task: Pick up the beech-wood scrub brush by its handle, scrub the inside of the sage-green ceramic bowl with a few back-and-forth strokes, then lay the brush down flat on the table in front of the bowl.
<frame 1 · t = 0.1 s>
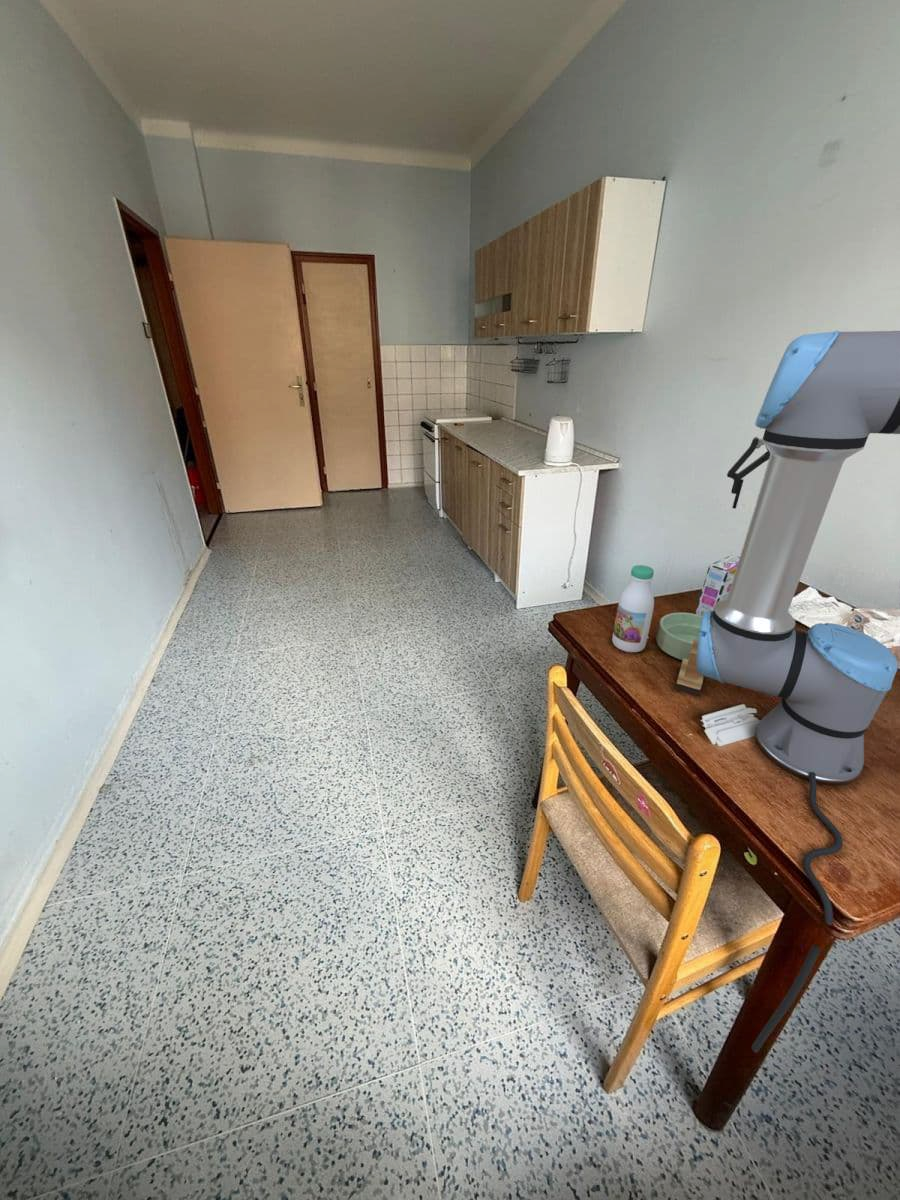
hand: (766, 511, 113), 28 cm above the table, tool pointing down, fingers open, 13 cm apart
brush: (689, 682, 100), on the table
candy bar box: (712, 620, 123), on the table
milk bottle: (628, 644, 114), on the table
bowl: (687, 647, 112), on the table
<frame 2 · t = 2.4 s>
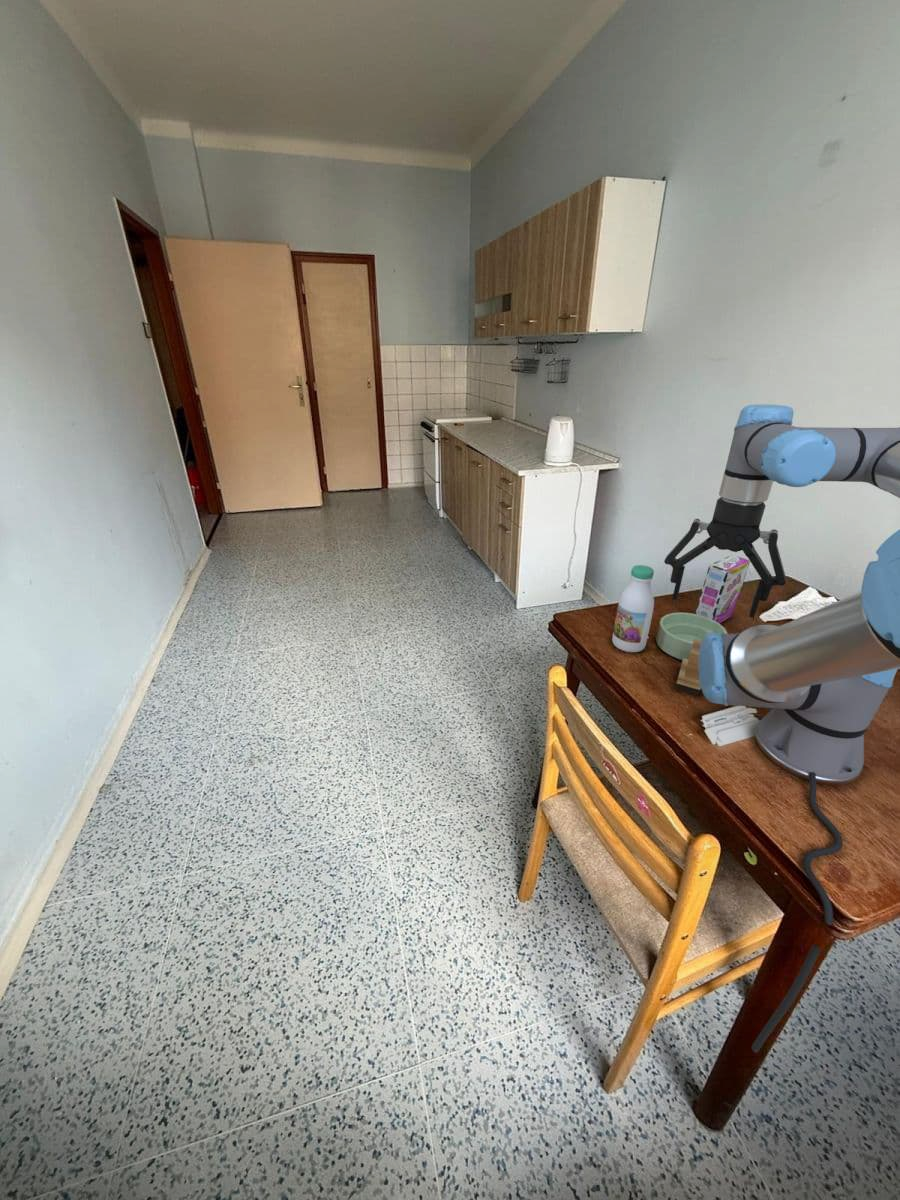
hand: (712, 605, 93), 18 cm above the table, tool pointing down, fingers open, 13 cm apart
nothing on the table moved.
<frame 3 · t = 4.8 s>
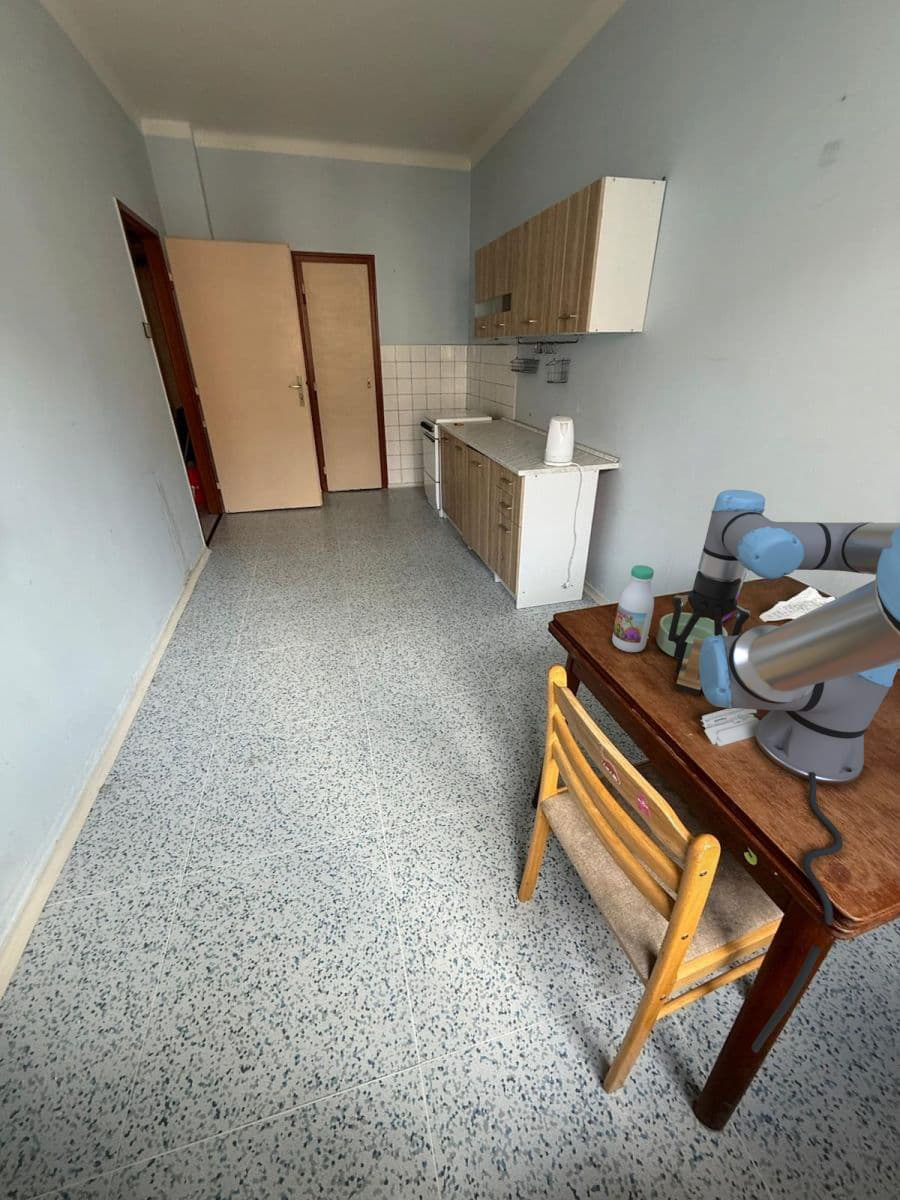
hand: (691, 673, 99), 2 cm above the table, tool pointing down, fingers closed on brush, 4 cm apart
brush: (689, 682, 100), on the table, touching gripper
everything else where it was.
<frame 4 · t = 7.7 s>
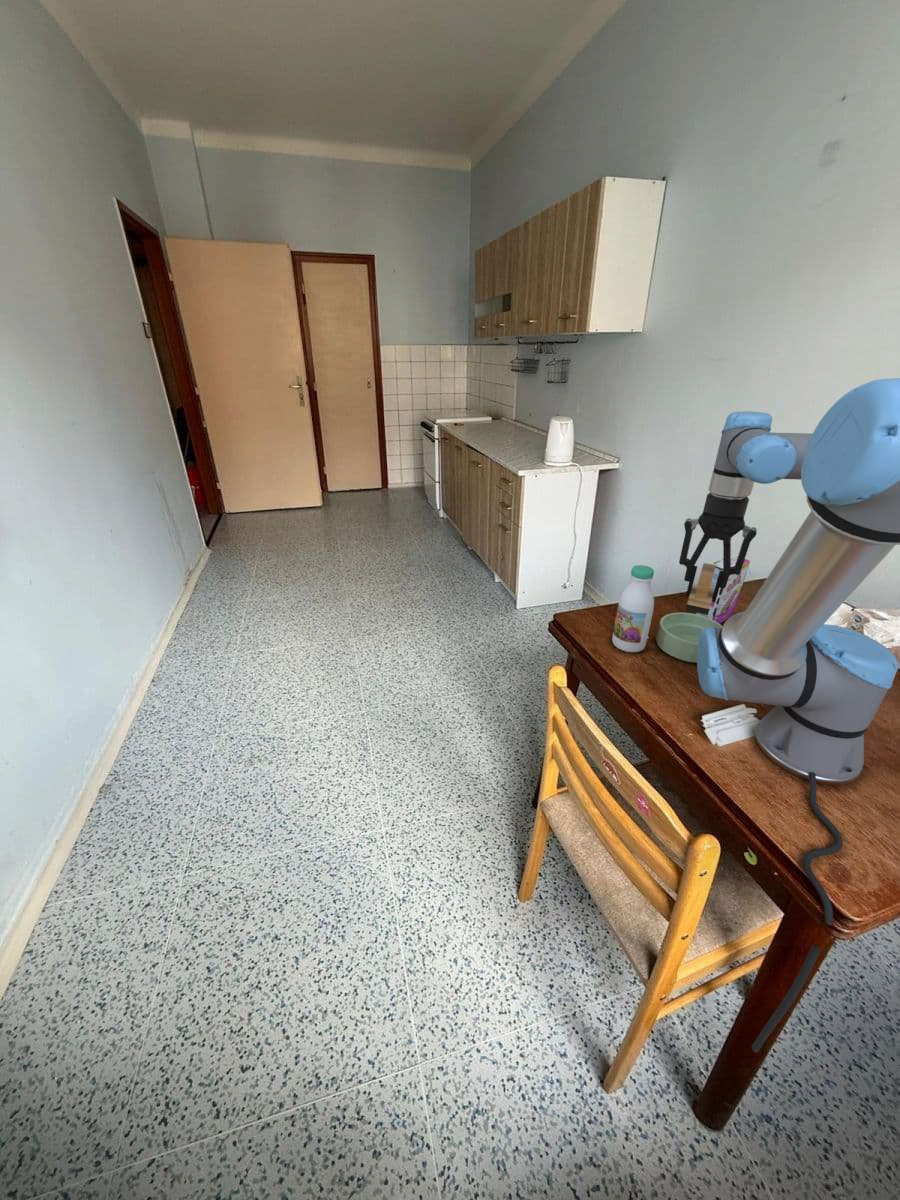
hand: (700, 596, 106), 14 cm above the table, tool pointing down, fingers closed on brush, 4 cm apart
brush: (698, 604, 107), point 11 cm above the table, touching gripper
everything else where it was.
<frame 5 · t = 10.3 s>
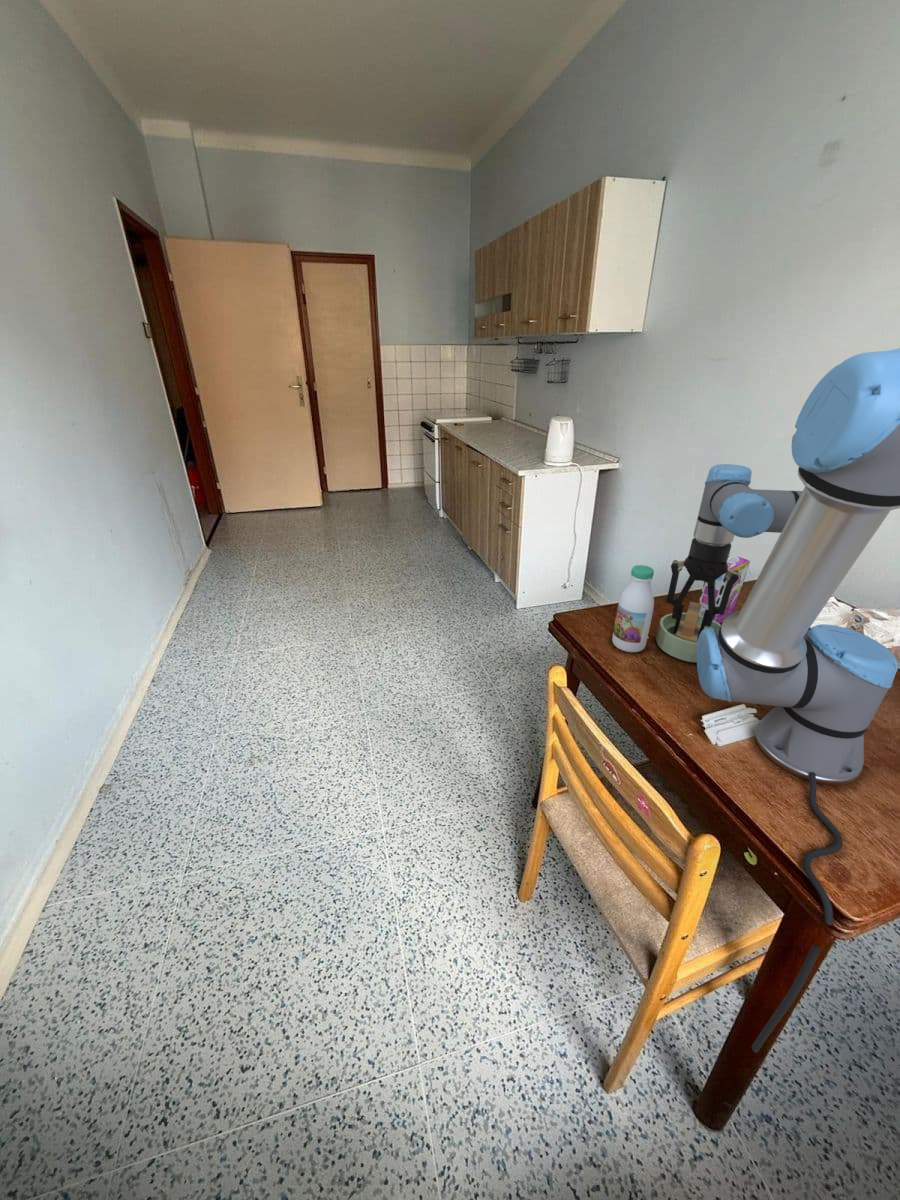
hand: (687, 633, 111), 4 cm above the table, tool pointing down, fingers closed on brush, 4 cm apart
brush: (685, 641, 112), point 1 cm above the table, touching gripper
everything else where it was.
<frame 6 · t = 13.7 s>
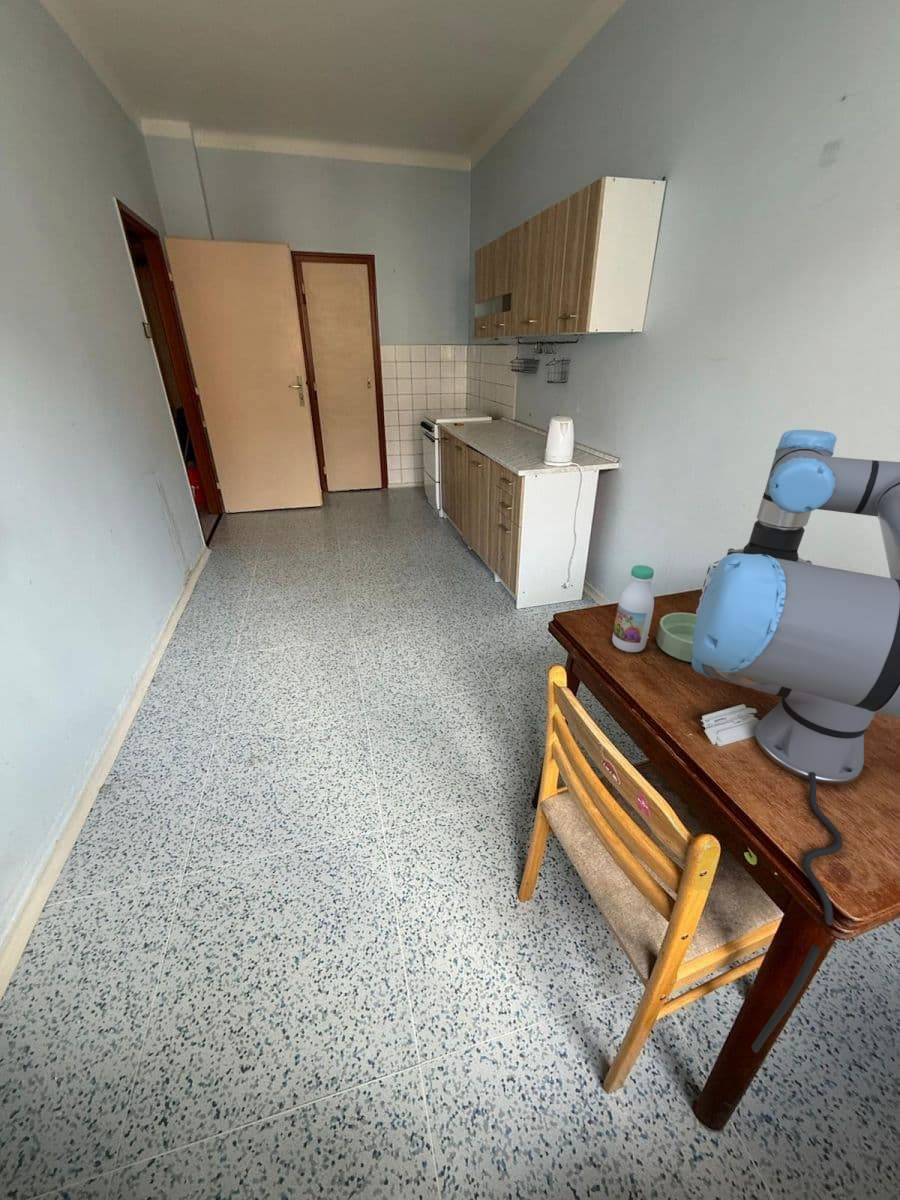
hand: (743, 635, 94), 12 cm above the table, tool pointing down, fingers closed on brush, 4 cm apart
brush: (740, 644, 95), point 10 cm above the table, touching gripper
everything else where it was.
when the fingers open (2 cm above the table, at t = 16.2 s): brush stays where it is, on the table.
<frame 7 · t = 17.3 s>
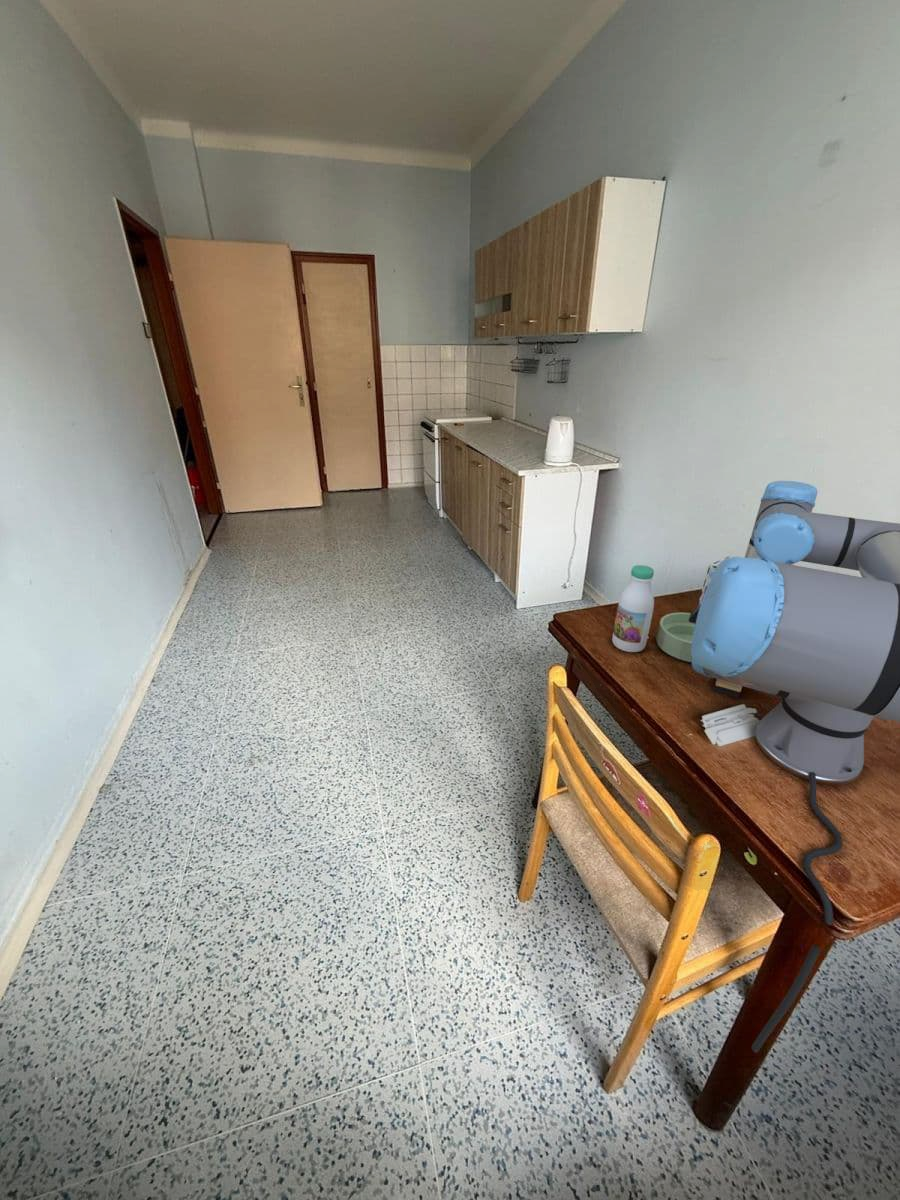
hand: (734, 662, 97), 6 cm above the table, tool pointing down, fingers open, 13 cm apart
brush: (727, 683, 100), on the table
everything else where it was.
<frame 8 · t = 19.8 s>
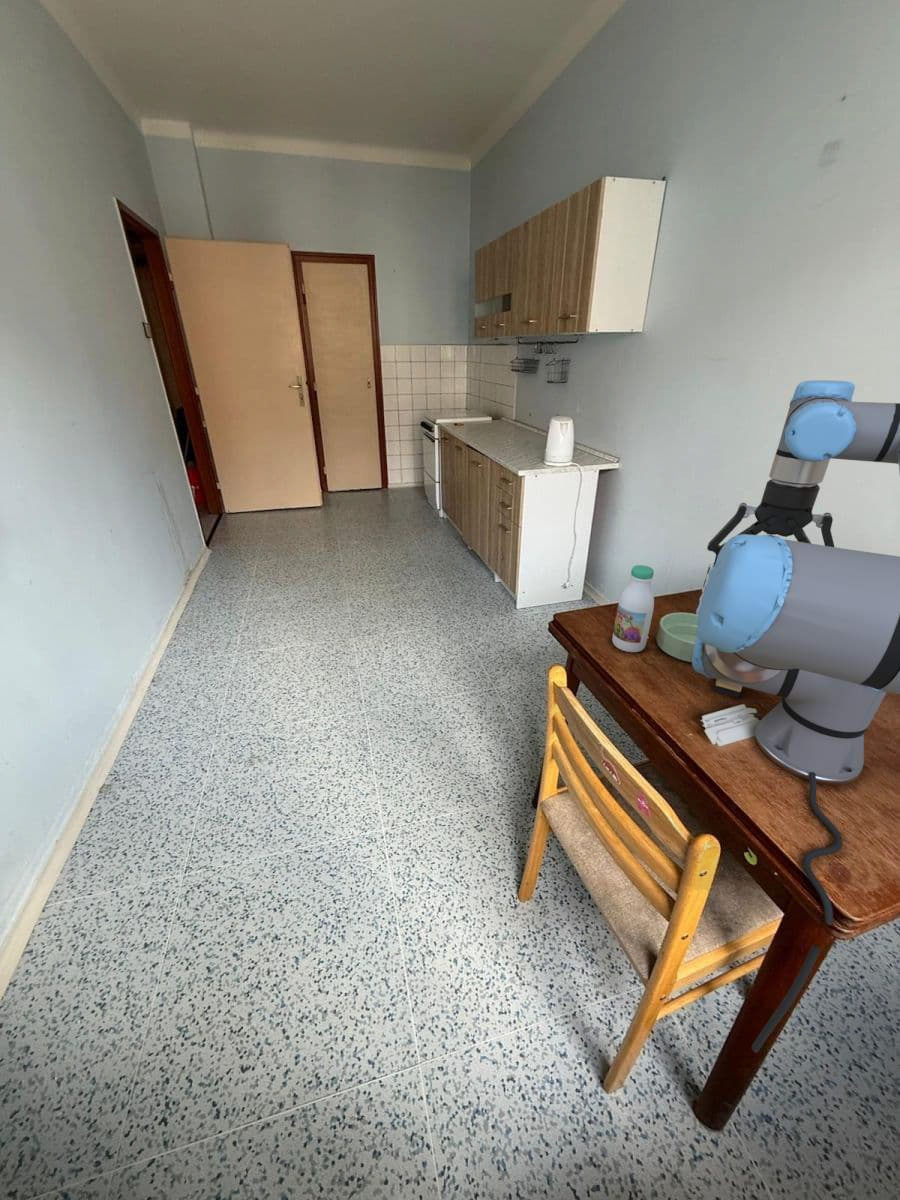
hand: (757, 593, 89), 22 cm above the table, tool pointing down, fingers open, 13 cm apart
nothing on the table moved.
at the end: brush 0.3 cm from the target spot, on the table; brush tilted 0°; the gripper is holding nothing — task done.
